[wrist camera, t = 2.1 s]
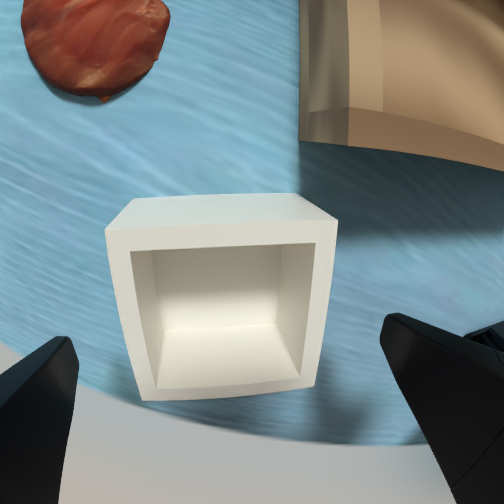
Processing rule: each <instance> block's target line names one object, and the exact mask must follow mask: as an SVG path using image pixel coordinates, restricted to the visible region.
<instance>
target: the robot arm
mask: <svg viewBox="0 0 504 504" xmlns="http://www.w3.org/2000/svg"><path fill="white" fill-rule="evenodd" d="M380 345H381V347H382V349H383V352H384V354H385V356H386V359H387V361H388V363H389V366H390V368H391V371H392V373H393V375H394V378H395V380H396V382H397V384H398V386H399V388H400V390H401V392H402V394H403V396H404V397H405V399H406V401H407V403H408V405H409V407H410V409H411V411H412V412H413V414H414V416H415V418H416V420H417V422H418V424H419V426H420V428H421V430H422V432H423V434H424V436H425V438H426V440H427V442H428V444H429V446H430V447H431V450H432V452H433V454H434V456H435V458H436V460H437V462H438V464H439V466H440V468H441V470H442V472H443V474H444V477H445V479H446V481H447V483H448V485H449V487H450V488H451V489H450V490H451V492H452V494H453V497H454V499H455V501H456V503H457V504H504V321H502V322H499V323H497V324H494V325H491V326H488V327H486V328H483V329H480V330H477V331H474V332H471V333H469V334H468V335H467V336H466V337H465V338H463V337H461V336H458V335H456V334H453V333H450V332H448V331H445V330H443V329H440V328H437V327H435V326H432V325H430V324H427V323H425V322H422V321H419V320H417V319H414V318H412V317H409V316H406V315H404V314H401V313H392V314H388V315H386V317H385V319H384V322H383V326H382V330H381V334H380ZM78 372H79V361H78V357H77V355H76V352H75V349H74V346H73V343H72V341H71V339H70V338H69V337H67V336H56V337H54V338H53V339H51V340H50V341H48V342H47V343H45V344H44V345H42V346H41V347H39V348H38V349H36V350H35V351H33V352H32V353H31V354H29V355H28V356H26V357H25V358H23V359H22V360H20V361H19V362H18V363H16V364H15V365H13V366H12V367H10V368H9V369H8V370H6V371H5V372H3V373H2V374H0V504H58V500H59V492H60V484H61V477H62V470H63V463H64V457H65V452H66V446H67V441H68V436H69V430H70V426H71V421H72V416H73V410H74V402H75V393H76V386H77V379H78Z"/></svg>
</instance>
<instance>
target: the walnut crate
mask: <svg viewBox="0 0 504 504" xmlns="http://www.w3.org/2000/svg"><path fill="white" fill-rule="evenodd" d="M299 14H300V99H299V141H310V142H320V143H330V144H338V145H346V146H356V147H366V148H375V149H383V150H391V151H399V152H406V153H413V154H419V155H425V156H431V157H437V158H443V159H448V160H454V161H459V162H464V163H469V164H473V165H478V166H482V167H487V168H491V169H495V170H500V171H504V0H299Z"/></svg>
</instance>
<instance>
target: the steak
mask: <svg viewBox="0 0 504 504" xmlns="http://www.w3.org/2000/svg"><path fill="white" fill-rule="evenodd" d="M169 23H170V11H169V9H168V8H167V6H166V5H165V4H164V3H163V2H162V1H161V0H24V3H23V11H22V14H21V28H22V32H23V35H24V41H25V46H26V49H27V51H28V53H29V55H30V58H31V59H32V61H33V62H34V64H35V66H36V67H37V69H38V70H39V72H40V73H41V75H42V76H43V78H44V79H45V80H46V81H47V82H48V83H49V84H51V85H52V86H53V87H56V88H58V89H61V90H62V91H65V92H68V93H71V94H75V95H78V96H85V95H89V96H96V97H98V98H99V99H100V100H101V102H103V103H104V102H107V101H108V100H109V99H110V98H111V96H113V95H115V94H117V93H119V92H121V91H122V90H124V89H126V88H128V87H130V86H131V85H132V84H134V83H135V82H136V81H138V80H139V79H140V78H141V77H142V76H144V75H145V74H146V73H147V72H148V71H149V70H150V69H151V68H152V66H153V64H154V62H155V61H156V60H158V57H159V53H160V51H161V49H162V46H163V43H164V39H165V36H166V32H167V29H168V27H169Z"/></svg>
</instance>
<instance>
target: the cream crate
mask: <svg viewBox="0 0 504 504" xmlns="http://www.w3.org/2000/svg"><path fill="white" fill-rule="evenodd" d="M337 228H338V220H337V219H335V218H334V217H332V216H331V215H329V214H328V213H326V212H325V211H323V210H321V209H320V208H318V207H317V206H315V205H314V204H312V203H311V202H309V201H307V200H306V199H304V198H303V197H301V196H300V195H298V194H296V193H255V194H215V195H189V196H169V197H152V198H136V199H132V201H131V202H130V203H129V204H128V205H127V206H126V207H125V208H124V209H123V210H122V211H121V212H120V213H119V214H118V215H117V217H116V218H115V219H114V220H113V221H112V222H111V223H110V224H109V225H108V226H107V228H106V229H105V236H106V244H107V251H108V257H109V263H110V269H111V275H112V281H113V286H114V292H115V297H116V302H117V307H118V311H119V316H120V320H121V325H122V329H123V333H124V337H125V342H126V346H127V349H128V353H129V357H130V361H131V364H132V368H133V372H134V375H135V379H136V382H137V385H138V389H139V392H140V395H141V398H142V401H172V400H198V399H215V398H228V397H239V396H249V395H258V394H267V393H274V392H282V391H289V390H295V389H302V388H308V387H314V384H315V379H316V374H317V368H318V363H319V358H320V352H321V346H322V340H323V334H324V328H325V322H326V316H327V309H328V302H329V295H330V288H331V280H332V272H333V264H334V256H335V247H336V238H337Z"/></svg>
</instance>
